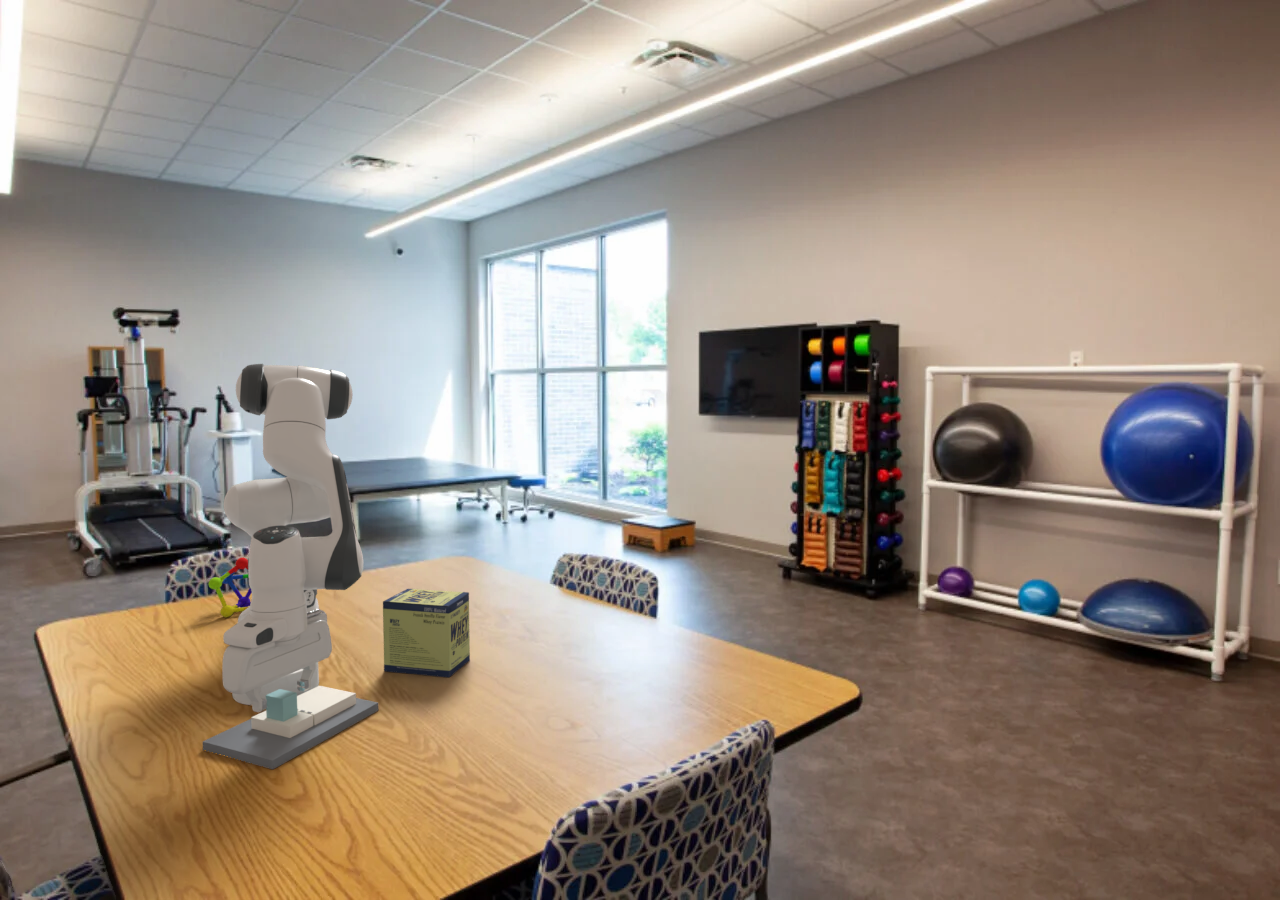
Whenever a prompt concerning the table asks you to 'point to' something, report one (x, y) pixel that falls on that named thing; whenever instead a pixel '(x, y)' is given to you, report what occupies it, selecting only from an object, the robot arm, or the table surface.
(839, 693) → the table surface
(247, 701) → the roll of tape
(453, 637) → the protein box
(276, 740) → the desk mat
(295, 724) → the cube on white base
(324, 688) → the pad
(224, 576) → the educational toy
